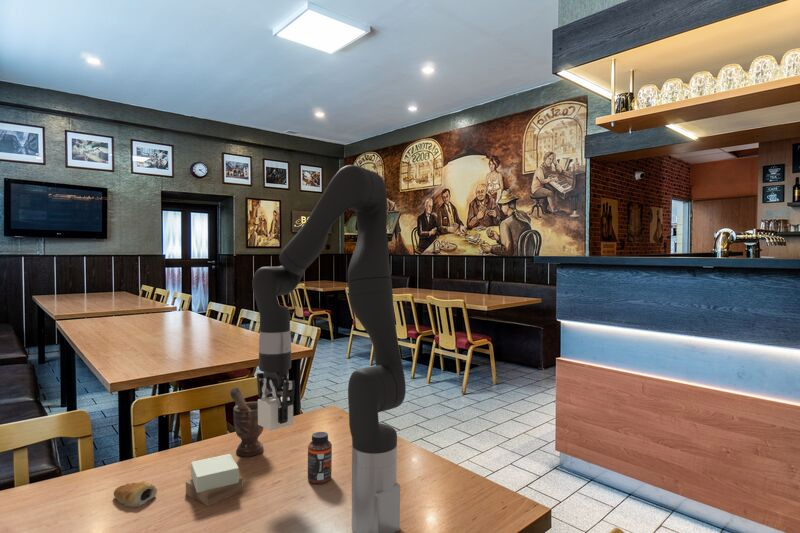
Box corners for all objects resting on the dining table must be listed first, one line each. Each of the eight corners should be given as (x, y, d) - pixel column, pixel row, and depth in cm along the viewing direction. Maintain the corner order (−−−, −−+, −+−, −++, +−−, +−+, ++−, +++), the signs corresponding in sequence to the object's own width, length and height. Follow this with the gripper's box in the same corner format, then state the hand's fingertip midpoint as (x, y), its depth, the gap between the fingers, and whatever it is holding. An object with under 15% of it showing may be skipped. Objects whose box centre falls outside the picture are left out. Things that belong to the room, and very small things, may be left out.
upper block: (238, 482, 109) (238, 467, 109) (197, 492, 104) (197, 477, 104) (230, 467, 116) (230, 453, 116) (191, 476, 112) (191, 462, 112)
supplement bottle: (326, 486, 113) (326, 439, 113) (303, 483, 115) (303, 437, 114) (334, 474, 119) (335, 430, 119) (313, 472, 121) (313, 428, 120)
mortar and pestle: (258, 462, 126) (258, 389, 125) (226, 463, 125) (226, 389, 125) (267, 445, 137) (268, 377, 137) (237, 446, 137) (238, 378, 136)
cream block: (293, 424, 112) (293, 399, 112) (270, 430, 108) (270, 405, 108) (280, 418, 116) (279, 394, 116) (257, 424, 112) (257, 399, 112)
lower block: (242, 492, 111) (242, 477, 111) (208, 508, 104) (208, 493, 104) (220, 481, 116) (220, 467, 116) (185, 496, 109) (185, 481, 109)
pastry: (104, 502, 106) (104, 485, 106) (131, 488, 112) (131, 472, 112) (135, 510, 102) (135, 493, 102) (160, 496, 109) (160, 479, 109)
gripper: (305, 351, 110) (305, 422, 110) (273, 344, 120) (273, 409, 120) (276, 356, 104) (277, 431, 104) (246, 347, 114) (246, 416, 115)
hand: (275, 419), depth 112 cm, fingers closed on cream block, 6 cm apart
